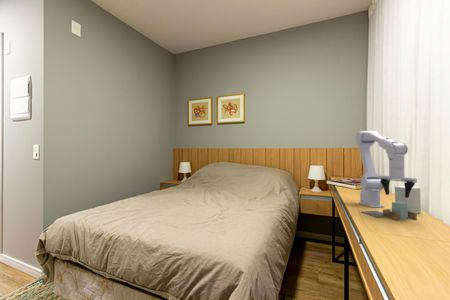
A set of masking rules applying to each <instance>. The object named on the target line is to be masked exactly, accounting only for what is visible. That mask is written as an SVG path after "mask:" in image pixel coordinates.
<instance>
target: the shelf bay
mask: <svg viewBox="0 0 450 300" xmlns="http://www.w3.org/2000/svg"><path fill="white" fill-rule="evenodd" d="M382 213H383V215H384V216H387V217H386V218H389V219H391V220H395V221H398V222H400V221H401V219H400V214H398V213H395V212H392V210H391V209H387V208H386V209H382ZM417 214H418V213H415V212H411V211H408V219H411V220H414V221H415V220H417V219H418V215H417Z"/></svg>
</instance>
